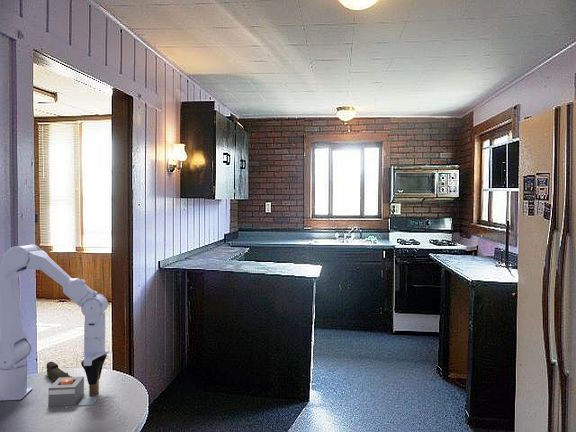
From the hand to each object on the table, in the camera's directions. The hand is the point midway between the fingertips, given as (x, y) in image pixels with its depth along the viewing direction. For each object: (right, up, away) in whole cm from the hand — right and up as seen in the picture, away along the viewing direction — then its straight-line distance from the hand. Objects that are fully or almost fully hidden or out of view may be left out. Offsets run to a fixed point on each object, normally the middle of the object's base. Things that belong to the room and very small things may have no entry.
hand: (94, 382), depth 131 cm
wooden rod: (0, -3, 0) cm, 3 cm away
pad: (+1, -3, -6) cm, 7 cm away
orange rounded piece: (-6, 0, -4) cm, 7 cm away
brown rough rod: (-16, -4, +9) cm, 19 cm away
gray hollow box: (-6, -3, -4) cm, 8 cm away
